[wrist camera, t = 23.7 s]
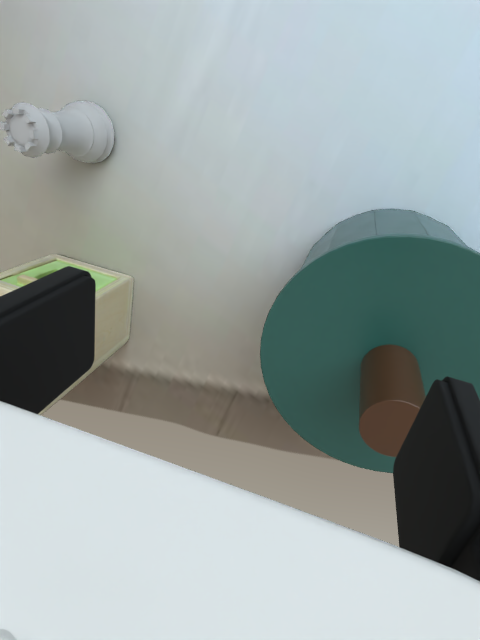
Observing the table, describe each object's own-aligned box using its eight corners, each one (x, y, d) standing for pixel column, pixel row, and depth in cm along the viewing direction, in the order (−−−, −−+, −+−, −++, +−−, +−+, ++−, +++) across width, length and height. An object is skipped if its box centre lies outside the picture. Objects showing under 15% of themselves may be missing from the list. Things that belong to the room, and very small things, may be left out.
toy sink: (137, 270, 36) (28, 330, 25) (131, 340, 39) (33, 422, 28) (54, 246, 38) (-84, 291, 26) (55, 315, 41) (-67, 383, 29)
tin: (344, 179, 29) (332, 198, 19) (516, 254, 27) (597, 316, 18) (275, 324, 34) (239, 395, 25) (414, 391, 33) (433, 493, 24)
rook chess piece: (85, 171, 34) (10, 178, 27) (59, 116, 33) (-26, 108, 26) (127, 149, 32) (59, 152, 25) (101, 90, 31) (22, 75, 24)
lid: (329, 183, 19) (313, 199, 14) (610, 308, 18) (716, 380, 12) (232, 392, 26) (195, 460, 20) (434, 495, 24) (454, 597, 19)
